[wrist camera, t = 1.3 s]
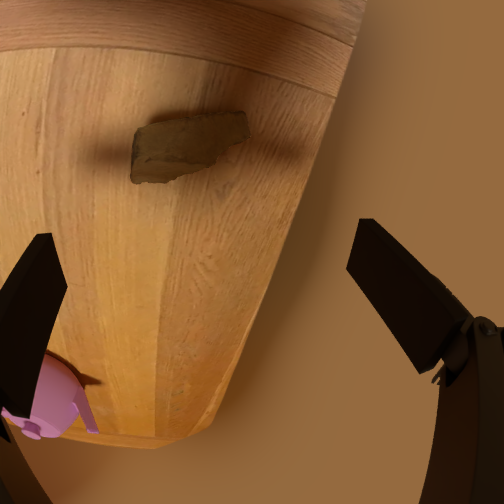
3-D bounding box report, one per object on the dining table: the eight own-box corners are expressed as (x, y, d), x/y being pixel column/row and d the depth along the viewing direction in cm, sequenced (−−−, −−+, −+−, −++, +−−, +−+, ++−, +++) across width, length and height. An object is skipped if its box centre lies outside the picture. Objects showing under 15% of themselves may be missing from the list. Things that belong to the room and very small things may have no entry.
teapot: (11, 388, 38) (0, 440, 28) (-23, 334, 30) (-46, 394, 20) (112, 402, 44) (110, 463, 34) (92, 350, 36) (81, 425, 26)
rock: (273, 87, 21) (148, 61, 17) (293, 172, 19) (132, 149, 14) (226, 160, 31) (130, 150, 26) (232, 236, 28) (123, 230, 24)
